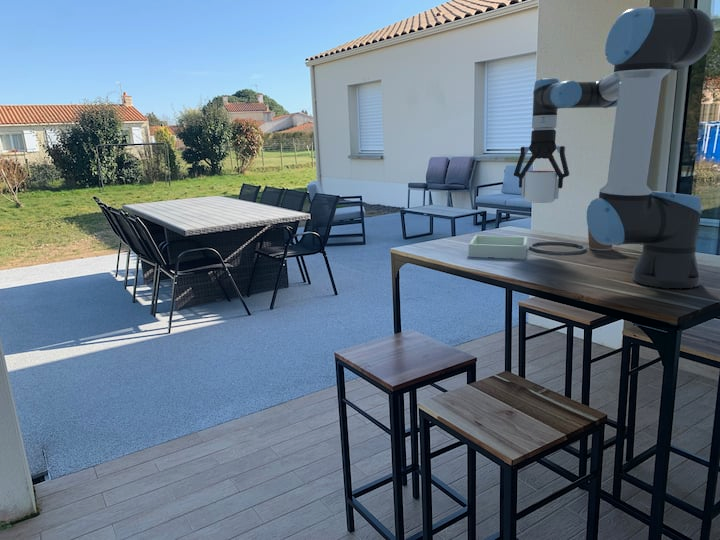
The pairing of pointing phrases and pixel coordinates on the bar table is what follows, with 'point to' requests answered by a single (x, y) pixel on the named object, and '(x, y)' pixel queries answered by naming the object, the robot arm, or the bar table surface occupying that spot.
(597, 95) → the robot arm
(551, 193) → the cup
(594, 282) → the bar table surface
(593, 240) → the coffee cup
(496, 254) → the bin
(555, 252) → the socket ring
